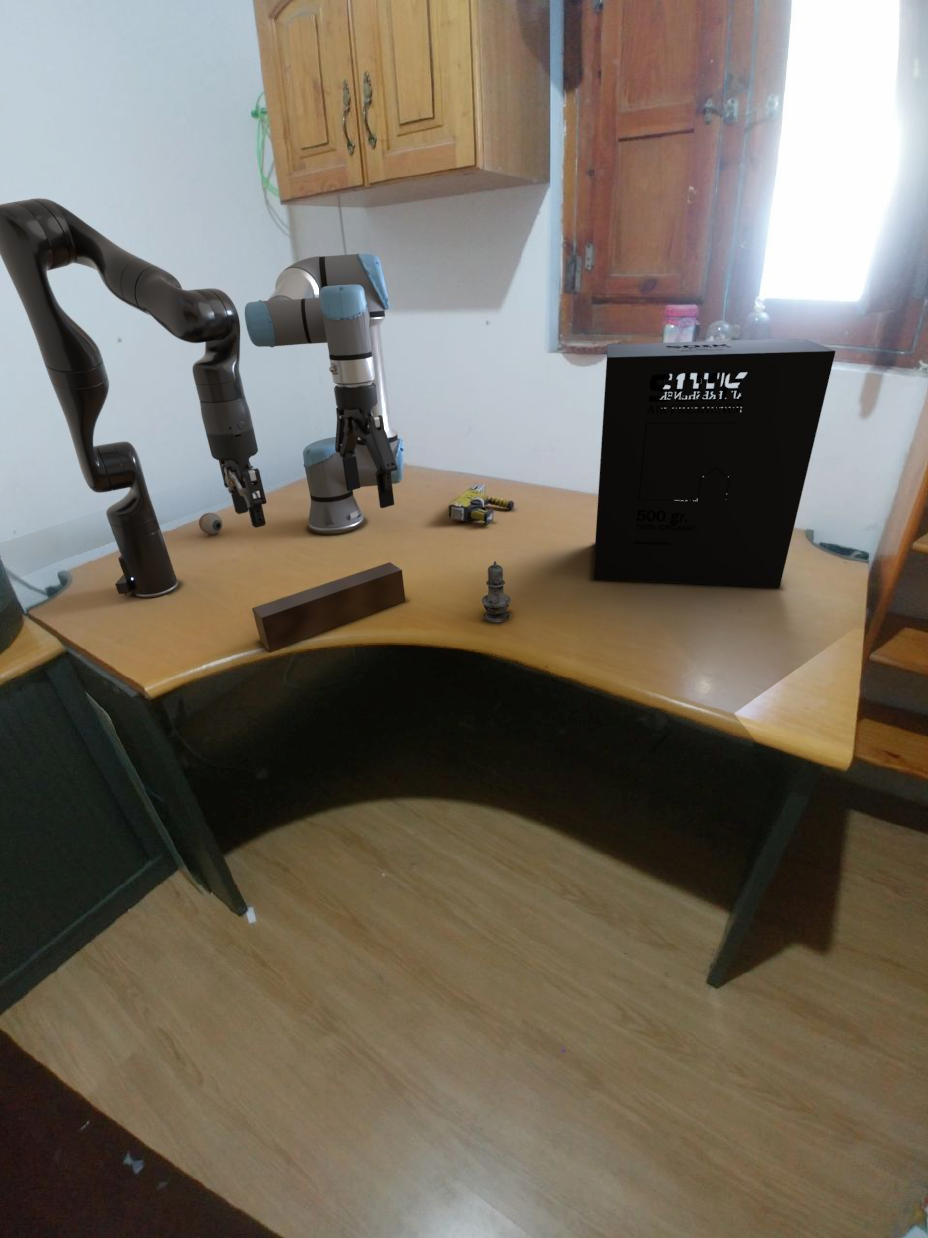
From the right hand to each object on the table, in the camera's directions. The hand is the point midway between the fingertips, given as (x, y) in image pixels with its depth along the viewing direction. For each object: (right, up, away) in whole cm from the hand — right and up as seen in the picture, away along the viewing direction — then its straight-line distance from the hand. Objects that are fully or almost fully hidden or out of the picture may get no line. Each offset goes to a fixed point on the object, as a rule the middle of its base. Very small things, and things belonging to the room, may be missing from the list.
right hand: (369, 497), depth 119 cm
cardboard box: (+67, -12, +18) cm, 71 cm away
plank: (-7, -24, +4) cm, 26 cm away
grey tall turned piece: (+25, -23, +2) cm, 34 cm away
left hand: (-20, -6, -11) cm, 23 cm away
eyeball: (-51, 0, +50) cm, 71 cm away
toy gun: (+25, +7, +54) cm, 60 cm away
